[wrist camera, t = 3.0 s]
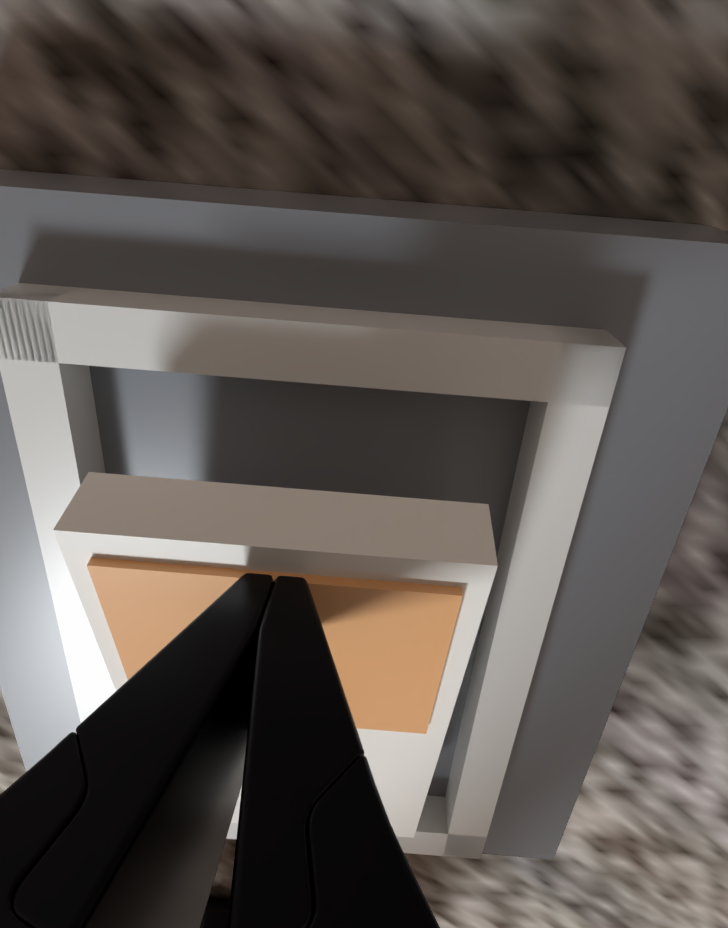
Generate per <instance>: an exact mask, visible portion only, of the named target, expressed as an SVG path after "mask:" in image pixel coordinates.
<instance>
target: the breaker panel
mask: <svg viewBox="0 0 728 928" xmlns="http://www.w3.org/2000/svg"><path fill="white" fill-rule="evenodd" d="M727 409H728V232H727V231H723V230H720V229H716V228H713V227H709V226H705V225H699V224H687V223H674V222H661V221H649V220H636V219H624V218H611V217H599V216H586V215H573V214H561V213H548V212H536V211H523V210H510V209H498V208H485V207H473V206H460V205H447V204H435V203H422V202H410V201H397V200H385V199H372V198H359V197H347V196H334V195H322V194H309V193H296V192H284V191H271V190H259V189H246V188H233V187H221V186H208V185H196V184H183V183H170V182H158V181H145V180H133V179H120V178H108V177H95V176H82V175H70V174H57V173H45V172H32V171H19V170H7V169H0V688H1V691H2V694H3V697H4V701H5V704H6V707H7V710H8V714H9V717H10V720H11V723H12V727H13V730H14V733H15V736H16V740H17V743H18V746H19V749H20V752H21V756H22V759H23V762H24V765H25V769H26V772H27V771H28V770H29V769H30V768H31V767H33V766H34V765H35V764H36V763H37V762H38V761H39V760H41V759H42V758H43V757H44V756H45V755H46V754H47V753H49V752H50V751H51V750H52V749H53V748H54V747H55V746H56V745H57V744H58V743H59V742H61V741H62V740H63V739H64V738H65V737H66V736H67V735H68V734H69V733H71V732H75V733H76V728H77V726H78V725H80V724H81V723H82V722H83V721H84V720H85V719H86V718H87V717H88V716H89V715H90V714H92V713H93V712H94V711H95V710H96V709H97V708H98V707H99V706H100V705H101V704H102V703H104V702H105V701H106V700H107V699H108V698H109V697H110V696H111V695H112V694H113V693H114V692H116V690H115V687H114V685H113V682H112V680H111V677H110V675H109V672H108V670H107V667H106V664H105V662H104V659H103V657H102V654H101V652H100V649H99V647H98V644H97V641H96V639H95V636H94V634H93V631H92V629H91V626H90V624H89V621H88V619H87V616H86V613H85V611H84V608H83V606H82V603H81V601H80V598H79V596H78V593H77V590H76V588H75V585H74V583H73V580H72V578H71V575H70V573H69V570H68V567H67V565H66V562H65V560H64V557H63V555H62V552H61V550H60V547H59V545H58V542H57V539H56V537H55V534H54V532H53V529H54V527H55V526H56V524H57V523H58V521H59V519H60V518H61V516H62V514H63V513H64V511H65V510H66V508H67V506H68V505H69V503H70V502H71V500H72V498H73V497H74V495H75V493H76V492H77V490H78V489H79V487H80V485H81V484H82V482H83V480H84V479H85V477H86V476H87V474H88V472H95V473H108V474H120V475H133V476H145V477H158V478H170V479H182V480H195V481H207V482H220V483H232V484H245V485H257V486H269V487H282V488H294V489H307V490H319V491H332V492H344V493H357V494H369V495H381V496H394V497H406V498H419V499H431V500H444V501H456V502H469V503H481V504H489V510H490V517H491V524H492V530H493V537H494V543H495V550H496V557H497V563H498V567H497V571H496V574H495V577H494V580H493V583H492V587H491V590H490V593H489V596H488V600H487V603H486V606H485V609H484V612H483V616H482V619H481V622H480V625H479V629H478V632H477V635H476V638H475V642H474V645H473V648H472V651H471V654H470V658H469V661H468V664H467V667H466V671H465V674H464V677H463V680H462V684H461V687H460V690H459V693H458V696H457V700H456V703H455V706H454V709H453V713H452V716H451V719H450V722H449V726H448V729H447V732H446V735H445V738H444V742H443V745H442V748H441V751H440V755H439V758H438V761H437V764H436V767H435V771H434V774H433V777H432V780H431V784H430V787H429V790H428V793H427V797H426V800H425V803H424V806H423V809H422V813H421V816H420V819H419V822H418V826H417V829H416V832H415V835H414V838H411V837H398V836H396V837H397V839H398V841H399V844H400V846H401V848H402V850H403V853H410V854H422V855H434V856H447V857H459V858H471V859H481V856H482V854H494V855H506V856H518V857H531V858H543V859H554V856H555V854H556V851H557V849H558V846H559V843H560V841H561V838H562V836H563V833H564V830H565V828H566V825H567V823H568V820H569V818H570V815H571V812H572V810H573V807H574V805H575V802H576V799H577V797H578V794H579V792H580V789H581V786H582V784H583V781H584V779H585V776H586V774H587V771H588V768H589V766H590V763H591V761H592V758H593V755H594V753H595V750H596V748H597V745H598V742H599V740H600V737H601V735H602V732H603V730H604V727H605V724H606V722H607V719H608V717H609V714H610V711H611V709H612V706H613V704H614V701H615V698H616V696H617V693H618V691H619V688H620V686H621V683H622V680H623V678H624V675H625V673H626V670H627V667H628V665H629V662H630V660H631V657H632V654H633V652H634V649H635V647H636V644H637V642H638V639H639V636H640V634H641V631H642V629H643V626H644V623H645V621H646V618H647V616H648V613H649V610H650V608H651V605H652V603H653V600H654V597H655V595H656V592H657V590H658V587H659V585H660V582H661V579H662V577H663V574H664V572H665V569H666V566H667V564H668V561H669V559H670V556H671V553H672V551H673V548H674V546H675V543H676V541H677V538H678V535H679V533H680V530H681V528H682V525H683V522H684V520H685V517H686V515H687V512H688V509H689V507H690V504H691V502H692V499H693V497H694V494H695V491H696V489H697V486H698V484H699V481H700V478H701V476H702V473H703V471H704V468H705V465H706V463H707V460H708V458H709V455H710V453H711V450H712V447H713V445H714V442H715V440H716V437H717V434H718V432H719V429H720V427H721V424H722V421H723V419H724V416H725V414H726V411H727ZM237 829H238V823H231V824H230V827H229V830H228V834H227V837H226V839H237Z"/></svg>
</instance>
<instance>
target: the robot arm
mask: <svg viewBox="0 0 728 928" xmlns="http://www.w3.org/2000/svg"><path fill="white" fill-rule="evenodd" d="M241 786H242V790H241ZM240 790H241V800H240V809H239V819H238V829H237V839H236V849H235V859H234V868H233V878H232V888H231V898H230V901H217V900H208V898H209V894H210V891H211V888H212V884H213V881H214V878H215V874H216V871H217V867H218V864H219V861H220V857H221V854H222V851H223V847H224V844H225V840H226V837H227V834H228V830H229V827H230V824H231V820H232V817H233V813H234V810H235V807H236V803H237V800H238V797H239V793H240ZM0 928H440V927H439V925H438V923H437V921H436V919H435V917H434V915H433V913H432V911H431V909H430V907H429V905H428V903H427V901H426V899H425V897H424V895H423V893H422V890H421V888H420V886H419V884H418V882H417V880H416V878H415V876H414V874H413V872H412V870H411V868H410V866H409V864H408V861H407V859H406V857H405V855H404V853H403V850H402V848H401V846H400V844H399V841H398V839H397V837H396V835H395V833H394V830H393V828H392V826H391V824H390V821H389V819H388V816H387V813H386V811H385V808H384V805H383V803H382V800H381V797H380V795H379V792H378V789H377V787H376V784H375V781H374V778H373V775H372V772H371V769H370V766H369V763H368V760H367V758H366V757H365V756H364V749H363V746H362V743H361V740H360V737H359V734H358V731H357V728H356V725H355V722H354V719H353V716H352V713H351V710H350V707H349V704H348V701H347V698H346V695H345V692H344V689H343V686H342V683H341V680H340V677H339V675H338V672H337V669H336V666H335V663H334V660H333V657H332V654H331V651H330V648H329V645H328V642H327V639H326V636H325V633H324V630H323V627H322V624H321V621H320V618H319V615H318V612H317V609H316V606H315V603H314V600H313V597H312V594H311V591H310V588H309V585H308V583H307V581H306V580H305V579H304V578H302V577H291V576H278V577H277V578H276V580H275V581H274V582H273V578H272V576H271V575H267V574H255V573H246V574H244V575H242V576H241V577H240V578H239V579H238V580H237V581H236V582H235V583H234V584H233V585H231V586H230V587H229V588H228V589H227V590H226V591H225V592H224V593H223V594H222V595H221V596H219V597H218V598H217V599H216V600H215V601H214V602H213V603H212V604H211V605H210V606H209V607H207V608H206V609H205V610H204V611H203V612H202V613H201V614H200V615H199V616H198V617H196V618H195V619H194V620H193V621H192V622H191V623H190V624H189V625H188V626H187V627H186V628H184V629H183V630H182V631H181V632H180V633H179V634H178V635H177V636H176V637H175V638H174V639H172V640H171V641H170V642H169V643H168V644H167V645H166V646H165V647H164V648H163V649H162V650H160V651H159V652H158V653H157V654H156V655H155V656H154V657H153V658H152V659H151V660H149V661H148V662H147V663H146V664H145V665H144V666H143V667H142V668H141V669H140V670H139V671H137V672H136V673H135V674H134V675H133V676H132V677H131V678H130V679H129V680H128V681H127V682H125V683H124V684H123V685H122V686H121V687H120V688H119V689H118V690H117V691H116V692H114V693H113V694H112V695H111V696H110V697H109V698H108V699H107V700H106V701H105V702H104V703H102V704H101V705H100V706H99V707H98V708H97V709H96V710H95V711H94V712H93V713H92V714H90V715H89V716H88V717H87V718H86V719H85V720H84V721H83V722H82V723H81V724H80V725H78V726H77V728H76V733H75V732H71V733H69V734H68V735H67V736H66V737H65V738H64V739H63V740H62V741H61V742H59V743H58V744H57V745H56V746H55V747H54V748H53V749H52V750H51V751H50V752H49V753H47V754H46V755H45V756H44V757H43V758H42V759H41V760H39V761H38V762H37V763H36V764H35V765H34V766H33V767H31V768H30V769H29V770H28V771H27V772H26V773H25V774H23V775H22V776H21V777H20V778H19V779H18V780H17V781H15V782H14V783H13V784H12V785H11V786H10V787H9V788H7V789H6V790H5V791H4V792H3V793H1V794H0Z"/></svg>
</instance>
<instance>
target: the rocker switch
mask: <svg viewBox="0 0 728 928" xmlns="http://www.w3.org/2000/svg"><path fill="white" fill-rule="evenodd" d="M53 532H54V534H55V537H56V539H57V542H58V545H59V547H60V550H61V552H62V555H63V557H64V560H65V562H66V565H67V567H68V570H69V573H70V575H71V578H72V580H73V583H74V585H75V588H76V590H77V593H78V596H79V598H80V601H81V603H82V606H83V608H84V611H85V613H86V616H87V619H88V621H89V624H90V626H91V629H92V631H93V634H94V636H95V639H96V641H97V644H98V647H99V649H100V652H101V654H102V657H103V659H104V662H105V664H106V667H107V670H108V672H109V675H110V677H111V680H112V682H113V685H114V687H115V690H116V691H117V690H118V689H119V688H120V687H121V686H122V685H123V684H124V683H125V682H127V681H128V680H129V679H130V678H131V677H132V676H133V675H134V674H135V673H136V672H137V671H139V670H140V669H141V668H142V667H143V666H144V665H145V664H146V663H147V662H148V661H149V660H151V659H152V658H153V657H154V656H155V655H156V654H157V653H158V652H159V651H160V650H162V649H163V648H164V647H165V646H166V645H167V644H168V643H169V642H170V641H171V640H172V639H174V638H175V637H176V636H177V635H178V634H179V633H180V632H181V631H182V630H183V629H184V628H186V627H187V626H188V625H189V624H190V623H191V622H192V621H193V620H194V619H195V618H196V617H198V616H199V615H200V614H201V613H202V612H203V611H204V610H205V609H206V608H207V607H209V606H210V605H211V604H212V603H213V602H214V601H215V600H216V599H217V598H218V597H219V596H221V595H222V594H223V593H224V592H225V591H226V590H227V589H228V588H229V587H230V586H231V585H233V584H234V583H235V582H236V581H237V580H238V579H239V578H240V577H241V576H242V575H244V574H246V573H255V574H267V575H271V576H272V578H273V582H274V581H275V580H276V578H277V577H278V576H291V577H302V578H304V579H305V580H306V581H307V583H308V585H309V588H310V591H311V594H312V597H313V600H314V603H315V606H316V609H317V612H318V615H319V618H320V621H321V624H322V627H323V630H324V633H325V636H326V639H327V642H328V645H329V648H330V651H331V654H332V657H333V660H334V663H335V666H336V669H337V672H338V675H339V677H340V680H341V683H342V686H343V689H344V692H345V695H346V698H347V701H348V704H349V707H350V710H351V713H352V716H353V719H354V722H355V725H356V728H357V731H358V734H359V737H360V740H361V743H362V746H363V749H364V756H365V757H366V758H367V760H368V763H369V766H370V769H371V772H372V775H373V778H374V781H375V784H376V787H377V789H378V792H379V795H380V797H381V800H382V803H383V805H384V808H385V811H386V813H387V816H388V819H389V821H390V824H391V826H392V828H393V830H394V833H395V835H396V836H398V837H411V838H414V835H415V832H416V829H417V826H418V822H419V819H420V816H421V813H422V809H423V806H424V803H425V800H426V797H427V793H428V790H429V787H430V784H431V780H432V777H433V774H434V771H435V767H436V764H437V761H438V758H439V755H440V751H441V748H442V745H443V742H444V738H445V735H446V732H447V729H448V726H449V722H450V719H451V716H452V713H453V709H454V706H455V703H456V700H457V696H458V693H459V690H460V687H461V684H462V680H463V677H464V674H465V671H466V667H467V664H468V661H469V658H470V654H471V651H472V648H473V645H474V642H475V638H476V635H477V632H478V629H479V625H480V622H481V619H482V616H483V612H484V609H485V606H486V603H487V600H488V596H489V593H490V590H491V587H492V583H493V580H494V577H495V574H496V571H497V567H498V563H497V557H496V550H495V543H494V537H493V530H492V524H491V517H490V510H489V504H481V503H469V502H456V501H444V500H431V499H419V498H406V497H394V496H381V495H369V494H357V493H344V492H332V491H319V490H307V489H294V488H282V487H269V486H257V485H245V484H232V483H220V482H207V481H195V480H182V479H170V478H158V477H145V476H133V475H120V474H108V473H95V472H88V474H87V476H86V477H85V479H84V480H83V482H82V484H81V485H80V487H79V489H78V490H77V492H76V493H75V495H74V497H73V498H72V500H71V502H70V503H69V505H68V506H67V508H66V510H65V511H64V513H63V514H62V516H61V518H60V519H59V521H58V523H57V524H56V526H55V527H54V529H53ZM241 790H242V786H241ZM241 790H240V793H239V797H238V800H237V803H236V807H235V810H234V813H233V817H232V820H231V823H238V819H239V809H240V800H241Z"/></svg>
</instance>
